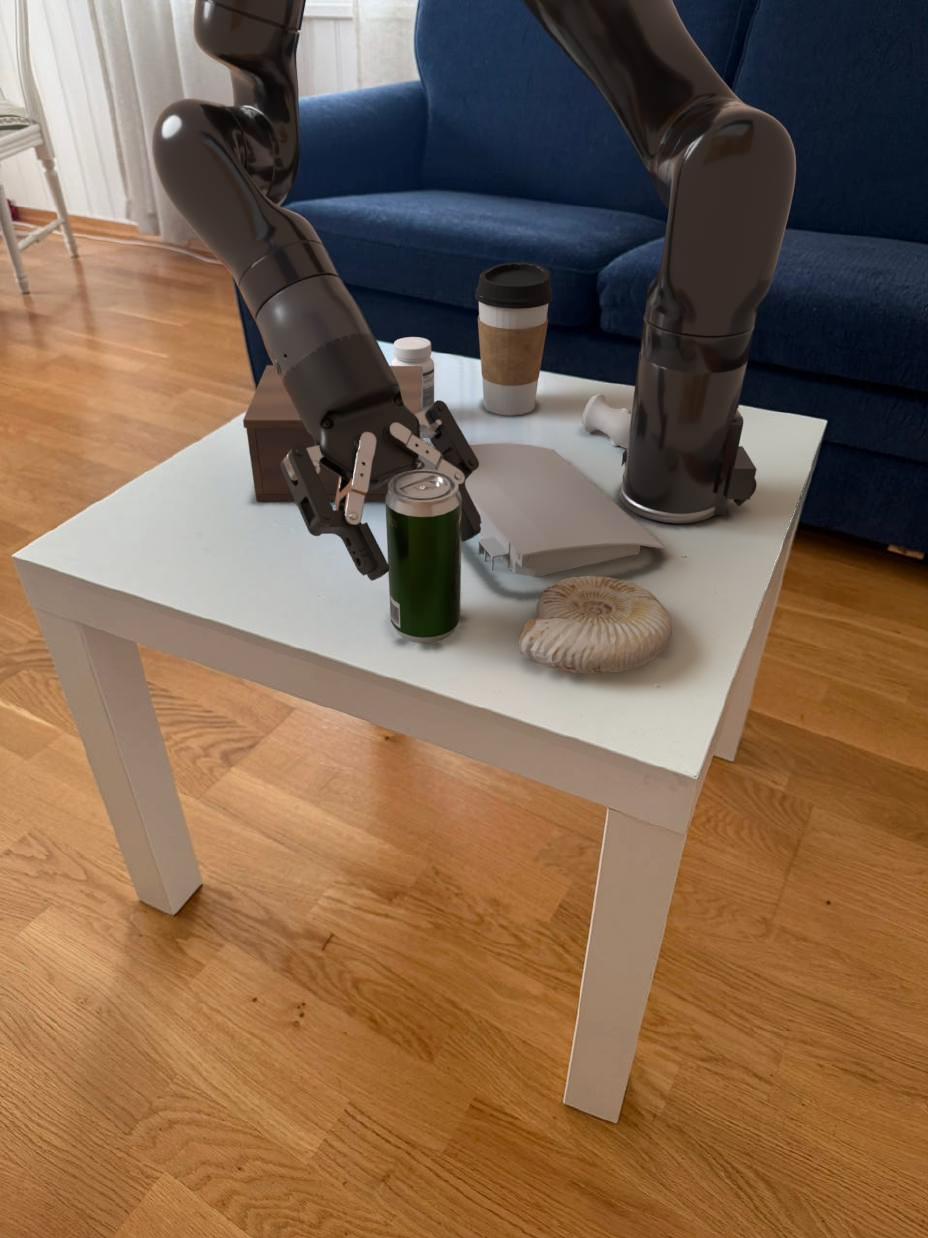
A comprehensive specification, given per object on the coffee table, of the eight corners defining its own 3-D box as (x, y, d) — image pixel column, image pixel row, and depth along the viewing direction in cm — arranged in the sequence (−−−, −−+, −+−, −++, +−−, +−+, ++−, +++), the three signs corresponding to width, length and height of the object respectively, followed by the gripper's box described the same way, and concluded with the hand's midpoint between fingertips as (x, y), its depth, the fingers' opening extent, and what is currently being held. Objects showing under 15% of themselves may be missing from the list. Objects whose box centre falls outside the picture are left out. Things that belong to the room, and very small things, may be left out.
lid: (419, 428, 81) (419, 420, 80) (243, 428, 80) (242, 419, 80) (422, 373, 92) (422, 365, 91) (267, 372, 91) (266, 364, 91)
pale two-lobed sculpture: (650, 458, 97) (616, 455, 94) (604, 430, 102) (570, 426, 99) (666, 420, 95) (632, 415, 92) (617, 393, 100) (584, 388, 97)
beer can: (413, 654, 67) (409, 511, 60) (377, 618, 71) (370, 479, 64) (473, 630, 69) (476, 490, 62) (436, 597, 73) (435, 461, 66)
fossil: (657, 680, 61) (525, 611, 62) (627, 727, 64) (502, 661, 65) (692, 586, 70) (576, 528, 71) (664, 631, 73) (553, 575, 74)
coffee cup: (558, 401, 106) (568, 268, 97) (523, 426, 100) (530, 287, 92) (496, 386, 110) (500, 257, 101) (459, 409, 104) (460, 274, 95)
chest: (421, 502, 86) (420, 425, 81) (256, 501, 86) (245, 424, 81) (423, 445, 96) (422, 373, 92) (276, 444, 96) (267, 373, 91)
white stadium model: (507, 608, 73) (509, 566, 70) (409, 483, 90) (408, 447, 88) (669, 570, 78) (676, 531, 75) (547, 459, 95) (550, 424, 93)
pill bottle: (388, 409, 104) (385, 337, 99) (428, 405, 105) (427, 333, 100) (398, 426, 100) (395, 351, 95) (439, 421, 101) (439, 347, 96)
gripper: (256, 353, 59) (368, 574, 59) (426, 311, 67) (526, 507, 67) (227, 405, 65) (328, 605, 65) (385, 361, 73) (476, 540, 73)
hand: (428, 555), depth 66 cm, fingers open, 8 cm apart
